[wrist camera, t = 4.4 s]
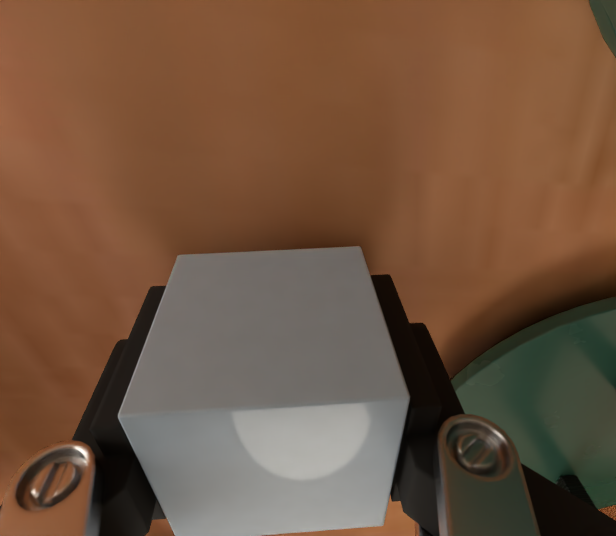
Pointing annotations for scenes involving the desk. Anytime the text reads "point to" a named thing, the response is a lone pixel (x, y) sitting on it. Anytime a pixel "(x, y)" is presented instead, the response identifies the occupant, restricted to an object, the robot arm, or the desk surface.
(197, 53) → the desk surface
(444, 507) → the robot arm
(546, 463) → the lid
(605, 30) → the pot
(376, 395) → the block
